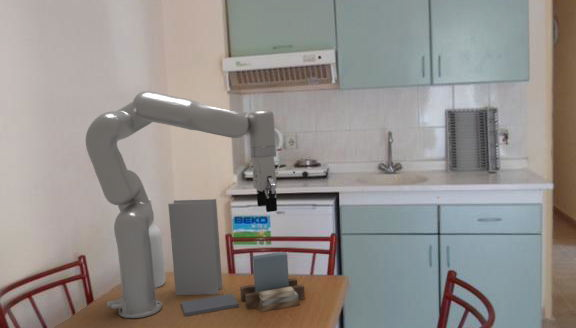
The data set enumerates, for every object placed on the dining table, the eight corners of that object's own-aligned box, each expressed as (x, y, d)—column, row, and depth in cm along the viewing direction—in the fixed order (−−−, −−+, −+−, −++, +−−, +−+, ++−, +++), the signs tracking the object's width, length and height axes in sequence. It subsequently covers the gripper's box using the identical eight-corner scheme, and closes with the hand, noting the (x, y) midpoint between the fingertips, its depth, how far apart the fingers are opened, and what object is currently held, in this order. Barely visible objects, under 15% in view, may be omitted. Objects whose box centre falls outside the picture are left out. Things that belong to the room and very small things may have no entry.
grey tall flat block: (222, 288, 172) (216, 199, 168) (218, 294, 167) (212, 202, 163) (180, 288, 173) (173, 200, 170) (175, 294, 168) (168, 203, 164)
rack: (247, 309, 153) (246, 296, 153) (241, 299, 161) (240, 286, 161) (304, 298, 159) (304, 286, 158) (295, 289, 167) (295, 277, 166)
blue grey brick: (258, 303, 157) (255, 258, 155) (255, 300, 160) (252, 256, 158) (289, 298, 160) (287, 254, 158) (286, 294, 163) (284, 251, 161)
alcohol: (135, 289, 175) (127, 202, 172) (145, 280, 184) (138, 197, 180) (160, 289, 174) (152, 201, 171) (169, 280, 183) (162, 196, 179)
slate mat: (184, 316, 150) (184, 312, 150) (181, 305, 159) (181, 302, 159) (238, 306, 155) (238, 303, 155) (232, 296, 164) (232, 293, 164)
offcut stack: (260, 311, 151) (259, 296, 150) (257, 307, 154) (256, 292, 153) (299, 304, 154) (298, 289, 154) (295, 300, 158) (294, 285, 157)
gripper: (244, 151, 162) (248, 205, 164) (258, 155, 145) (262, 215, 147) (267, 149, 164) (270, 202, 166) (284, 153, 148) (287, 212, 150)
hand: (267, 208), depth 157 cm, fingers open, 9 cm apart
